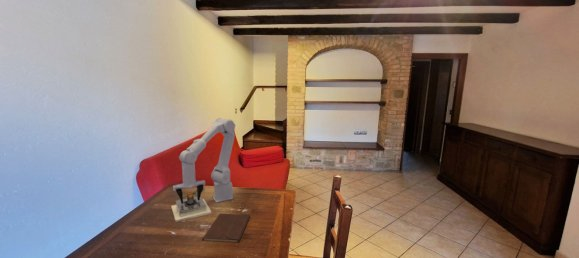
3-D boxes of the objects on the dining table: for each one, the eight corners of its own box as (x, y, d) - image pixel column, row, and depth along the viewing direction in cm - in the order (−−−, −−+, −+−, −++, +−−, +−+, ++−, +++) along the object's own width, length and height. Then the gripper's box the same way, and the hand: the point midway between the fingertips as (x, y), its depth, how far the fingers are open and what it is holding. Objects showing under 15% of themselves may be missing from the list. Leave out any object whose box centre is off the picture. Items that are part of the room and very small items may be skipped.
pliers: (173, 202, 133) (189, 187, 153) (173, 204, 133) (189, 188, 153) (191, 203, 133) (205, 187, 152) (191, 204, 133) (205, 189, 152)
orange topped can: (193, 206, 128) (192, 191, 126) (194, 209, 125) (194, 193, 124) (187, 208, 126) (186, 193, 125) (188, 210, 124) (187, 195, 122)
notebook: (202, 241, 102) (202, 236, 102) (219, 216, 122) (219, 212, 121) (238, 243, 101) (238, 239, 101) (250, 218, 120) (250, 214, 120)
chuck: (200, 201, 134) (200, 195, 133) (206, 210, 124) (205, 204, 123) (176, 206, 128) (175, 200, 127) (179, 217, 118) (179, 210, 117)
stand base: (203, 200, 137) (203, 198, 137) (211, 213, 123) (211, 211, 123) (171, 207, 129) (171, 205, 128) (175, 222, 115) (175, 220, 115)
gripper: (173, 180, 116) (175, 208, 118) (206, 175, 123) (207, 201, 125) (171, 175, 122) (173, 202, 124) (202, 170, 129) (204, 195, 131)
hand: (190, 201), depth 125 cm, fingers open, 7 cm apart
